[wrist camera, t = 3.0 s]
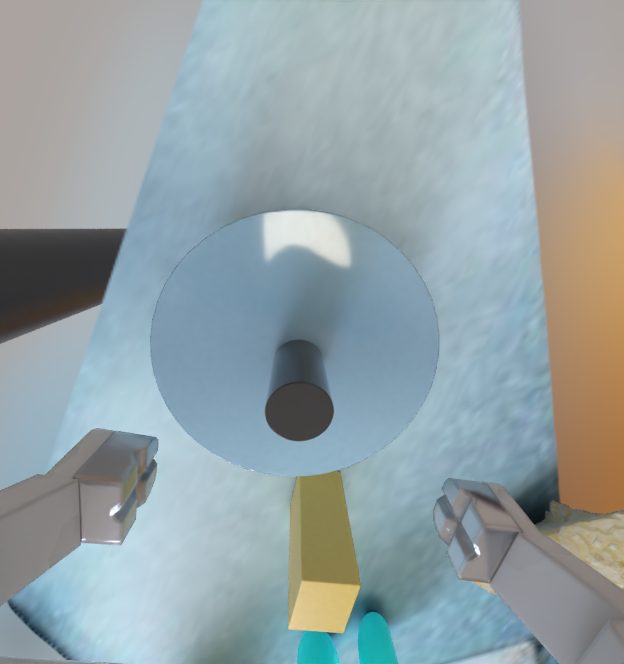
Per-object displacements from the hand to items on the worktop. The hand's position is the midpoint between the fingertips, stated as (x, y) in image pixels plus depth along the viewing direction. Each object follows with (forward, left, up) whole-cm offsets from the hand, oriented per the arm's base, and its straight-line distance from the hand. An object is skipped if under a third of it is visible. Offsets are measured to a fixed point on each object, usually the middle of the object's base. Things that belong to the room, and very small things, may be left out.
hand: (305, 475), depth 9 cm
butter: (+5, -17, -17) cm, 24 cm away
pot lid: (0, 0, -8) cm, 8 cm away
